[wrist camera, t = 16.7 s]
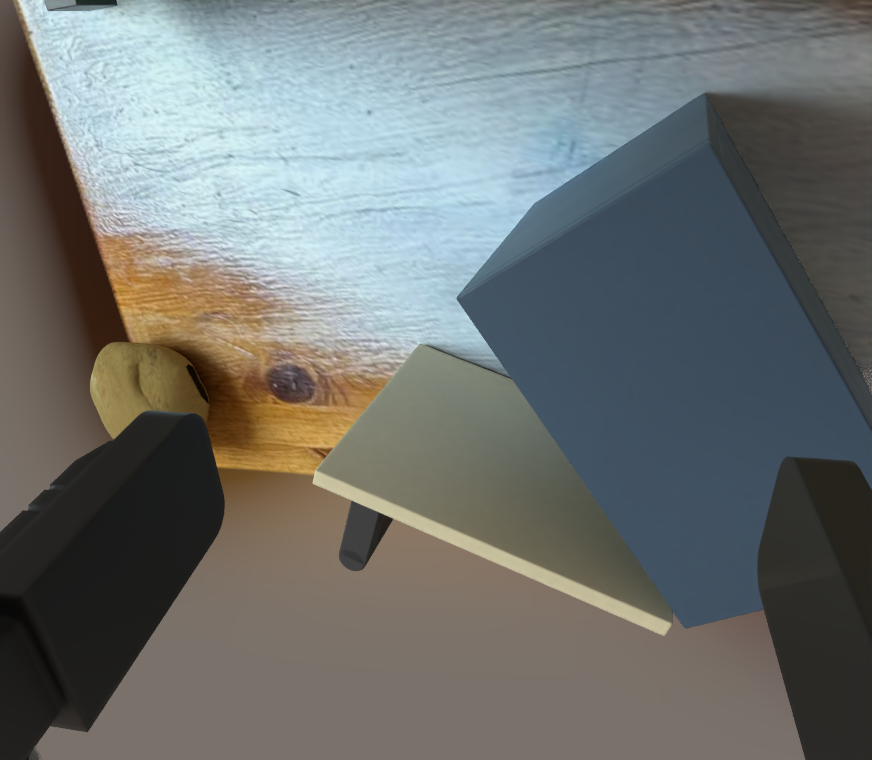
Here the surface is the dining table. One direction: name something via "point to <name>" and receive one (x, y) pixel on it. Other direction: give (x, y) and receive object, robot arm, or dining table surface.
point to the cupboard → (674, 353)
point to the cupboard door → (481, 486)
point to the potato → (144, 384)
